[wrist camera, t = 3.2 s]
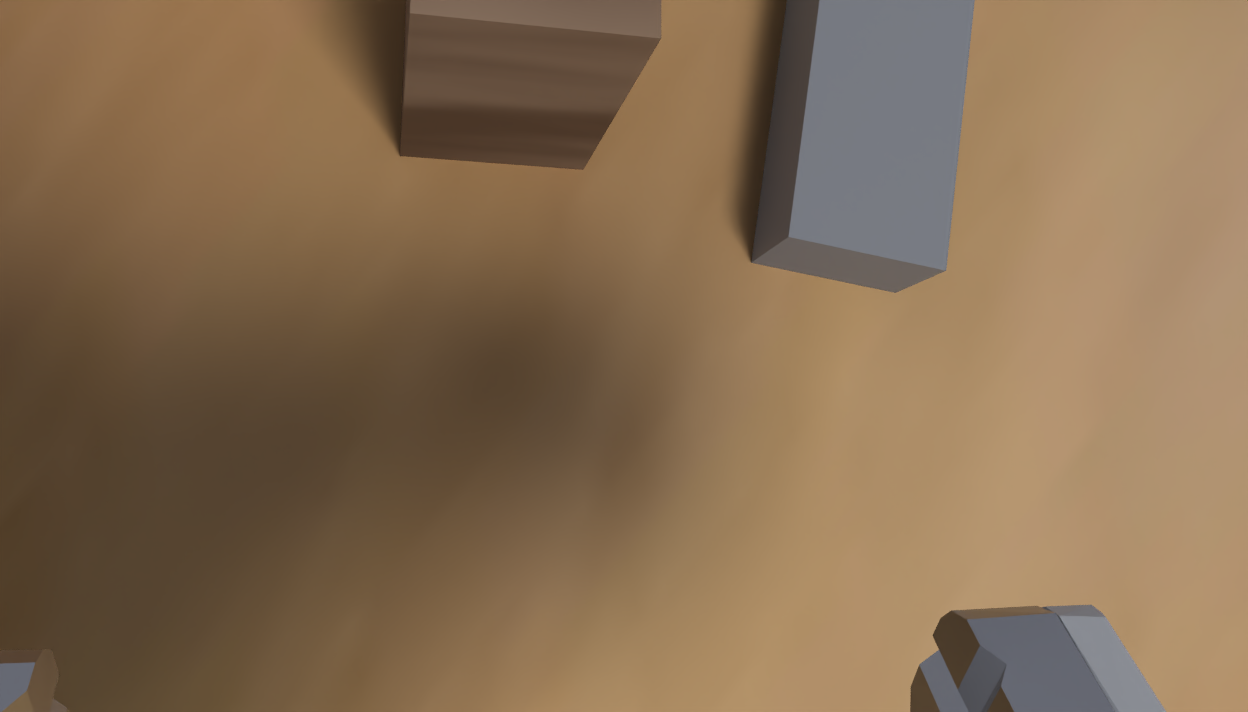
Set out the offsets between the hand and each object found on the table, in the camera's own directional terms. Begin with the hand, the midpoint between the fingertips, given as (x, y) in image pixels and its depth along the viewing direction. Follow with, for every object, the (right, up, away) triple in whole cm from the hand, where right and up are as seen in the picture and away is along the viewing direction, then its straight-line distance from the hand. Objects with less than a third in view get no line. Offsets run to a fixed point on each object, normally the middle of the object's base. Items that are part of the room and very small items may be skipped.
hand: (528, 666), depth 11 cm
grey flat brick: (+7, +9, +20) cm, 23 cm away
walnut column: (-2, +10, +18) cm, 20 cm away
